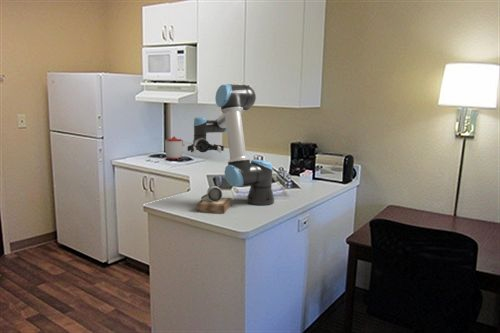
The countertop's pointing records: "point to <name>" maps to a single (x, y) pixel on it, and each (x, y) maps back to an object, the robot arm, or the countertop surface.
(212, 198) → the ceramic mug
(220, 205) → the block
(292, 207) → the countertop surface
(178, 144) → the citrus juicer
